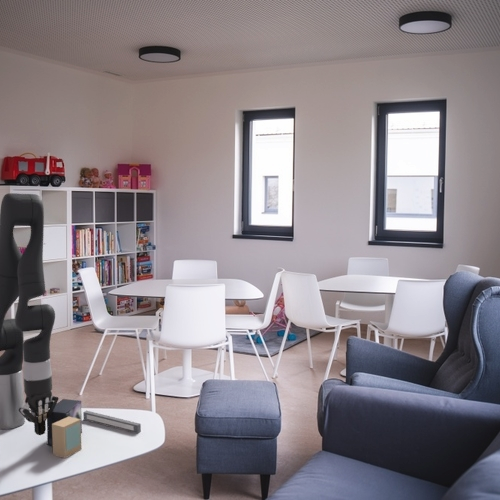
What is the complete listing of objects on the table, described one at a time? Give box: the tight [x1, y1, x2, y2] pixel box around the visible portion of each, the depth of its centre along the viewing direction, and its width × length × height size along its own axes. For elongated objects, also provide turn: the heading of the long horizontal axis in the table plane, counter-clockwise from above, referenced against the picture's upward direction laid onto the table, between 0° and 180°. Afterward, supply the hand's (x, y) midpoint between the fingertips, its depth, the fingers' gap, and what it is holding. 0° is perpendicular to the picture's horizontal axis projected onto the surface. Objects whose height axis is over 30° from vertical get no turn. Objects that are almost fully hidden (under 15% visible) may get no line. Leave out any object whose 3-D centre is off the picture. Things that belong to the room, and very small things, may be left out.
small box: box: [46, 398, 83, 446], centre depth 196 cm, size 11×6×10 cm, turn 169°
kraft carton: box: [52, 417, 82, 459], centre depth 187 cm, size 5×6×9 cm
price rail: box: [83, 410, 142, 434], centre depth 206 cm, size 22×2×2 cm, turn 60°
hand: (40, 434), depth 188 cm, fingers closed
